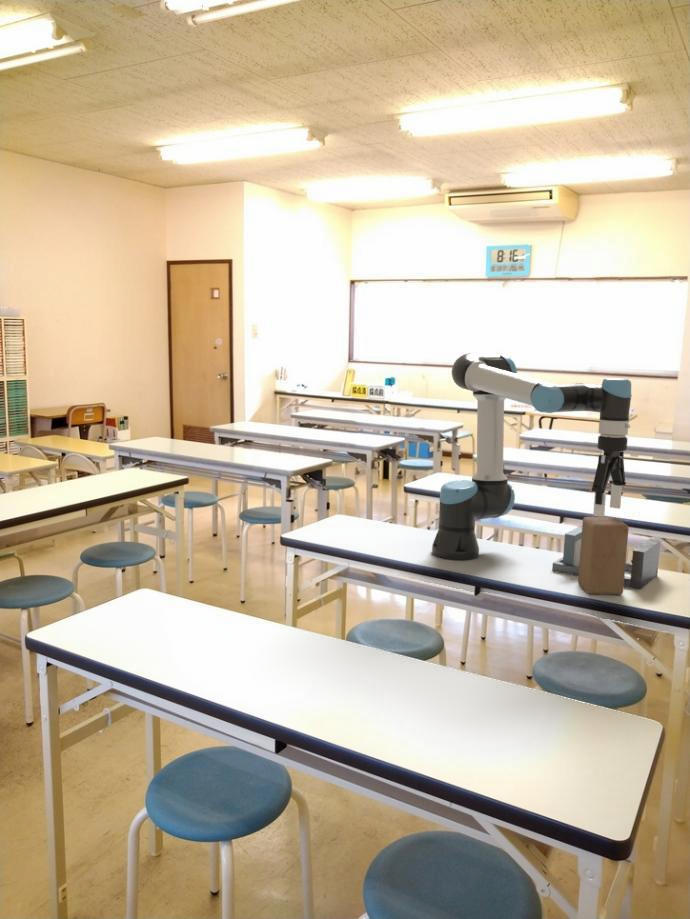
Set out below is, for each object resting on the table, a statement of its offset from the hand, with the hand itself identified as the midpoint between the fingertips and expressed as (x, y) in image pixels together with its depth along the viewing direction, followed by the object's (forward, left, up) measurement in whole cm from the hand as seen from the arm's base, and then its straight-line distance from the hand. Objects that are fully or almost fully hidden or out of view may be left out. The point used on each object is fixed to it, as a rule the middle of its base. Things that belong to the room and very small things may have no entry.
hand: (607, 511), depth 199 cm
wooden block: (0, 0, -23) cm, 23 cm away
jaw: (-13, +16, -22) cm, 30 cm away
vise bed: (-4, +16, -23) cm, 28 cm away
